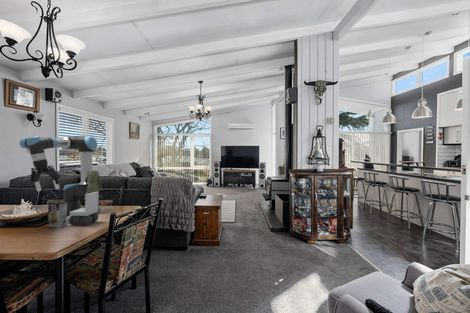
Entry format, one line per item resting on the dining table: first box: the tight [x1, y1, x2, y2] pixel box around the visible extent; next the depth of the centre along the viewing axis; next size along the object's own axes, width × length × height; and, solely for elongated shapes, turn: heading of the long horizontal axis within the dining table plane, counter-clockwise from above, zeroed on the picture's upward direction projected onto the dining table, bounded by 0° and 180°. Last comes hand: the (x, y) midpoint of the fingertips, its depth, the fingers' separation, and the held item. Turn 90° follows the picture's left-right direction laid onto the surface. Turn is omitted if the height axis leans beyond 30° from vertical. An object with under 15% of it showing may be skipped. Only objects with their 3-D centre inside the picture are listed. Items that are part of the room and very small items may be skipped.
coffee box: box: [47, 200, 68, 229], centre depth 165 cm, size 9×6×16 cm
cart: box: [68, 192, 99, 226], centre depth 172 cm, size 13×14×21 cm
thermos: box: [85, 170, 102, 214], centre depth 203 cm, size 9×12×35 cm
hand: (48, 189), depth 167 cm, fingers open, 13 cm apart
